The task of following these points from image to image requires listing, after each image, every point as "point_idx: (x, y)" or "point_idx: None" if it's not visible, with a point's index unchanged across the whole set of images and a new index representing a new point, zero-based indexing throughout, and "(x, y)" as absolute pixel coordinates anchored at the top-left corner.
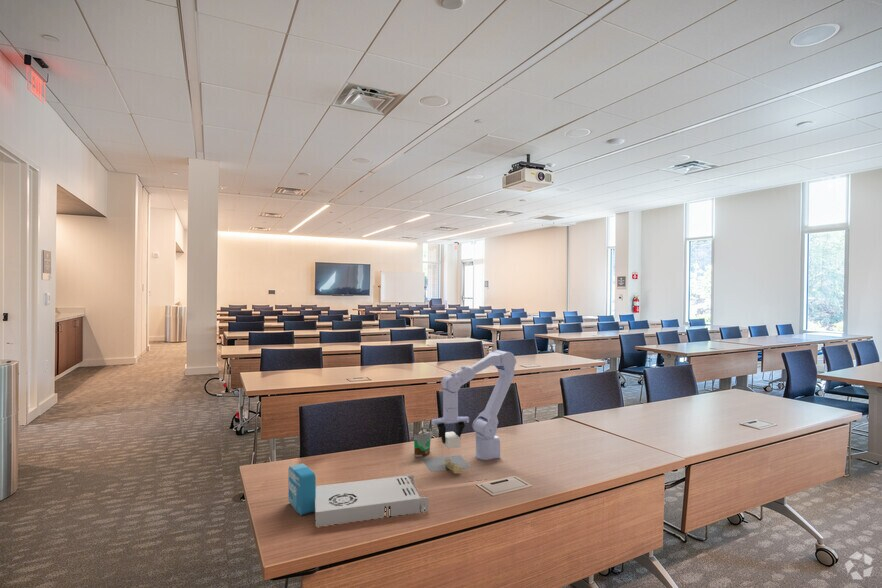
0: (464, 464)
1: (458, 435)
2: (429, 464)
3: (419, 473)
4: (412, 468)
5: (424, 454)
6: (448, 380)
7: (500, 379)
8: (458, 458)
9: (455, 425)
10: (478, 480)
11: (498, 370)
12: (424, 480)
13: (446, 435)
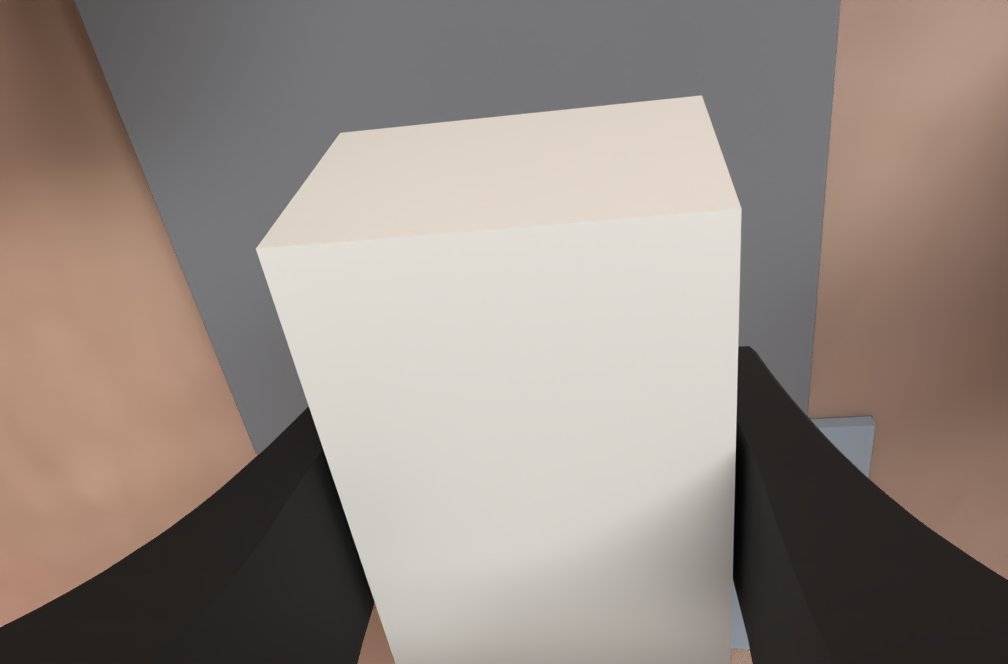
0: (743, 333)
1: (745, 620)
2: (225, 237)
3: (134, 381)
4: (8, 219)
5: None
6: None
7: None
8: (743, 60)
9: (811, 614)
10: (745, 640)
11: None
12: None
13: (411, 537)
